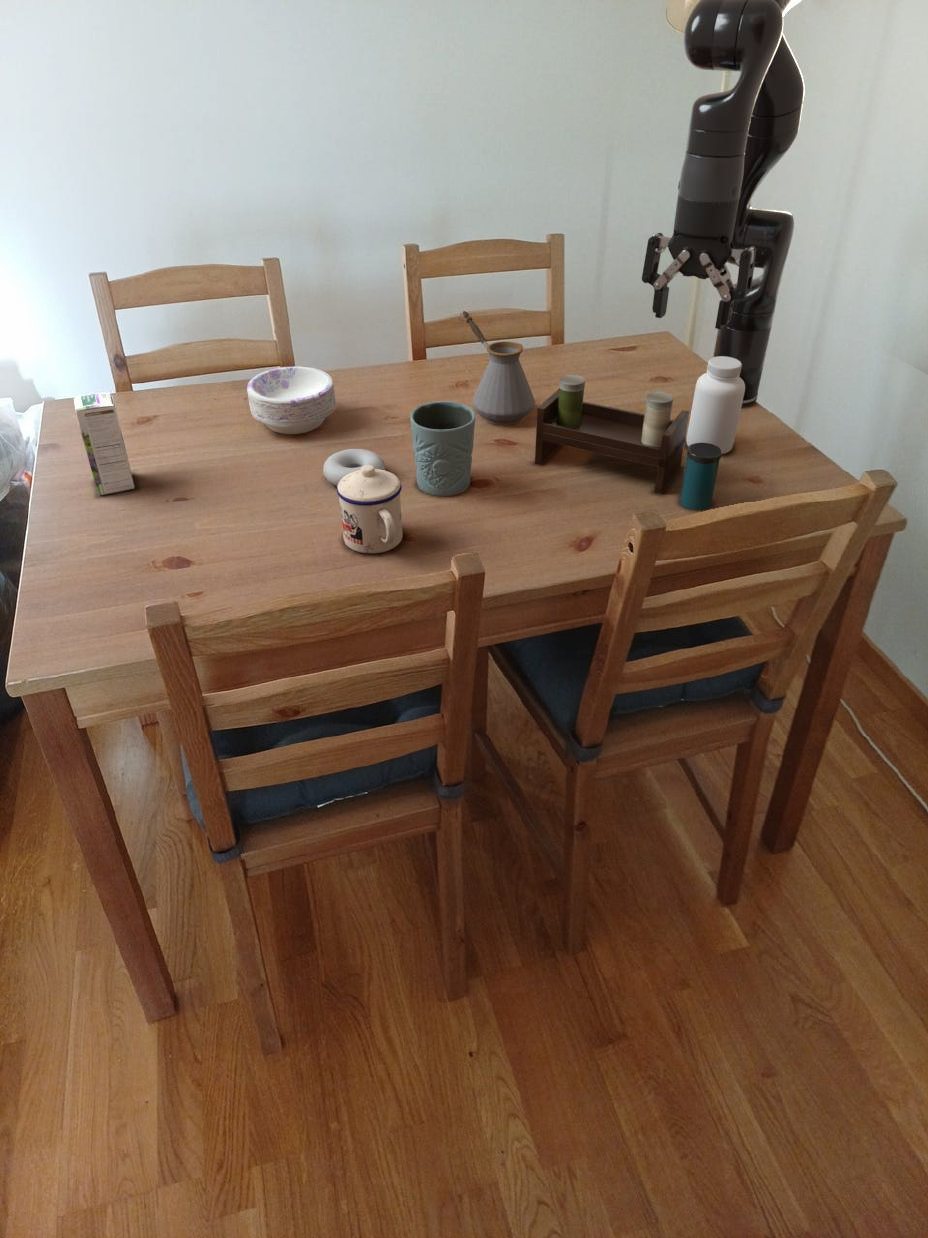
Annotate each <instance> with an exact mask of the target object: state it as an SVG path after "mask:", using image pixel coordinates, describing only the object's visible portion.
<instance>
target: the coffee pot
mask: <svg viewBox="0 0 928 1238" xmlns="http://www.w3.org/2000/svg"><path fill="white" fill-rule="evenodd" d="M462 315H463V317H464V318H462V319H460V317H461V316H462ZM457 317H458V321H465V322H466V324H468V325H469V326H470V329H471V331H472V332H473V334H474V335H475V336H476V338H477V339H478V340H479V341H480V343H481V344H482V345H483V347H484V348H485V349H486V351H487V353H488V354H489V361H488V363H487V365H486V367H485V370H484V372H483V375H482V377H481V379H480V381H479V384H478V385H477V388H476V390H475V392H474V394H473V398H472V399H471V402H472V406H473V409H474V412H475V413H477V414H478V415H479V416H480V417H481V418H482V419H483V420H484V421H485V422H487V423H490V424H493V425H499V426H501V425H502V426H509V425H515V424H517V423H520V422H522V421H523V420H524V419H525V418H526V417H527V416H528V415H529V414H531V412H533V409H534V408H535V404H536V400H535V396H534V394H533V392H532V389H531V387H530V384H529V381H528V379H527V377H526V374H525V371H524V369H523V366H522V364H521V363H522V362H521V361H520V356H521V354H522V353H523V352H524V347H523V344H522V343H519V342H515V341H514V342H513V341H495V342H492V343H488V342H487V340H486V339H487V338H485V336H484V334H483V333H482V331H481V329H480V327H479V326H478V325H477V324H476V323H475V322H474V321H473V317H471V316H470V312H468V311H465V310H463V311H462V312H461V313H460V314H459V315H458V316H457Z"/></svg>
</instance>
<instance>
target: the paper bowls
mask: <svg viewBox="0 0 928 1238" xmlns="http://www.w3.org/2000/svg"><path fill="white" fill-rule="evenodd" d="M334 385H335V381H334V379H333V377H332V376H331V375H330V374H328V373H327V372H326V371H323V370H321V369H319V368H315V367H310V366H282V367H276V368H271V369H269V370H266V371H262V372H261V373H258V374H257V375H255V376H253V377H252V378H251V379H250V380H249V382H248V384H247V386H246V391H247V392H246V393H247V397H248V404H249V409H250V414H251V416H252V417H253V418H254V419H255V420H256V421H258V422H260V423H263V424H265V425H266V426H267V428H269V430H271V431H273V432H275V433H278V434H285V435H299V434H304V433H308V432H309V433H310V432H311V431H314V430H316V429H318V427H320V426H321V425H322V424H323V422H324V421H325V418H327V417H328V416H330V414H332V413H333V412H334V411H335V409H336V405H337V403H336V393H335V391H336V390H335V386H334Z"/></svg>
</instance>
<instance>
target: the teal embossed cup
mask: <svg viewBox="0 0 928 1238" xmlns="http://www.w3.org/2000/svg"><path fill="white" fill-rule="evenodd" d="M409 415H410V417H409V420H410V427H411V436H412V447H413V452H414V462H415V463H414V464H415V472H416V484H417V486H418V488H419V490H420V491H422V492H423V493H425V494H428V495H431V496H437V497H451V496H455V495H458V494H461V493H463V492H465V491H466V490H467V489H468V488H469V486H470V482H471V472H472V464H473V463H472V461H473V457H472V456H473V452H474V438H475V425H476V412H475V410H473V409H472V408H471V407H470V406H468V405H466V404H463V403H461V402H457V401H450V400H438V401H437V400H436V401H429V402H426V403H421V404H420V405H418V406H416V407H415V408H414V409H413V410H412V411H411V413H410V414H409Z"/></svg>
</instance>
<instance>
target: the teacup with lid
mask: <svg viewBox="0 0 928 1238" xmlns="http://www.w3.org/2000/svg"><path fill="white" fill-rule="evenodd" d="M401 492H402V483H401V480H400V479H399V478H398V476H397V475H395V474H394V473H392V472H390V471H387V470H386V469H385V470H380V469H375V468H374V467H373V466H371V465H365V466H363V467H362V468H361V470H358V471H354V472H351V473H349V474H347V475H346V476H344V477H343V478H342V479H341V480H340V481H339V483H338V486H336V493H337V495H338V498H339V508H340V517H341V526H342V527H341V529H342V536H343V541H344V543H345V545H346V546H347V547H348V548H349V549H351V550H352V551H354V552H358V553H362V554H370V555H371V554H381V553H384V552H388V551H391V550H392V549H395V548H396V547H397V546H398V545H399V544H400V543H401V541H402V539H403V519H402V504H401V503H402V501H401V499H402V498H401Z"/></svg>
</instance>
